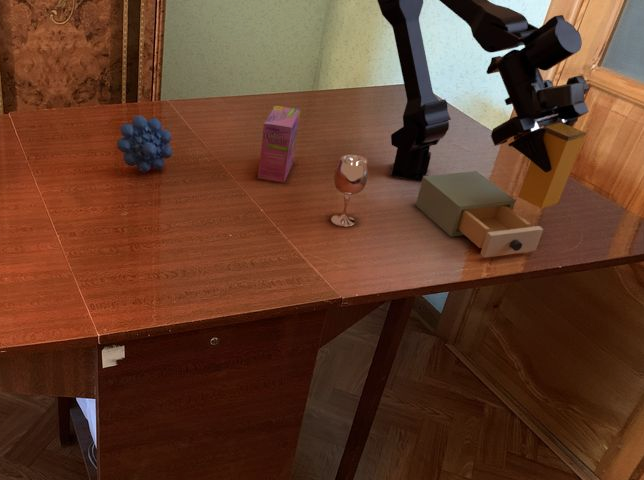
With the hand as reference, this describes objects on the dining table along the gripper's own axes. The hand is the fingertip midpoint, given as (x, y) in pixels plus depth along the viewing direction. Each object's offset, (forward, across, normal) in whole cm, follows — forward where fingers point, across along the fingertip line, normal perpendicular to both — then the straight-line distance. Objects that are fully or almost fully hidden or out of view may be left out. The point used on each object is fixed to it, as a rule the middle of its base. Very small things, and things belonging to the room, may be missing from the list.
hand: (558, 168), depth 130 cm
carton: (+4, 0, +6) cm, 7 cm away
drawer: (+7, -9, +10) cm, 16 cm away
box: (-22, -24, +42) cm, 53 cm away
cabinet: (+1, -6, +18) cm, 19 cm away
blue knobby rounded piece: (-31, -48, +50) cm, 76 cm away
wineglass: (-6, -26, +25) cm, 37 cm away
